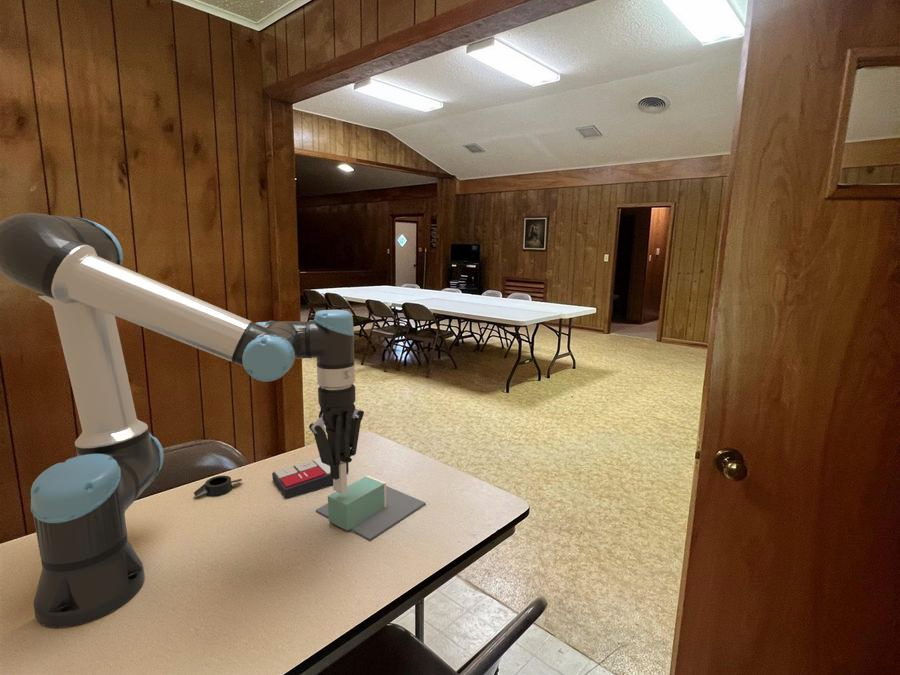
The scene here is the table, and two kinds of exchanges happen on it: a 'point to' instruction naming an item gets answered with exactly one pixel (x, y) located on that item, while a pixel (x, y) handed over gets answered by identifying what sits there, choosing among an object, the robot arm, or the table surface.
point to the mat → (384, 514)
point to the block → (357, 502)
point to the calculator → (302, 478)
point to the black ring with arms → (216, 486)
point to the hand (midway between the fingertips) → (340, 490)
